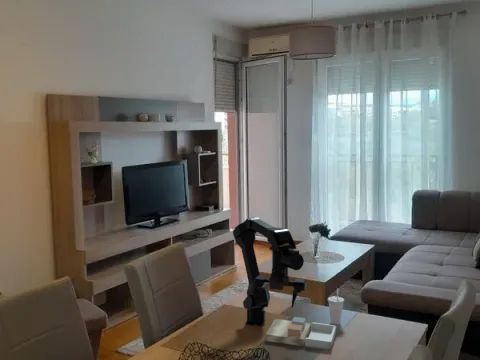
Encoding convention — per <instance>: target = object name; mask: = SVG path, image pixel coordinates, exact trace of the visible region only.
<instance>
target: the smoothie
mask: <svg viewBox="0 0 480 360" xmlns="http://www.w3.org/2000/svg"><path fill="white" fill-rule="evenodd" d="M327 302H328V311H329V321H330V324H331V325H340V324H341V318H342V312H343V307H344V304H345V299H344V298H343V297H341V296H339V288H338V287H337V288H336V296H333V295H332V296H329V297H327Z"/></svg>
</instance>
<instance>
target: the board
mask: <svg viewBox="0 0 480 360" xmlns="http://www.w3.org/2000/svg"><path fill="white" fill-rule="evenodd" d="M290 324H292V320H288V319H287V320H286V319H278V318H275V319H274V320H273V321H272V324H271V325H270V327H269V328H268V330H266V333H265V337H264V338H265V340H264V341H265V342H272V343H276V344H277V343H278V344H285V345H292V346H298V347H305V338H308V337H309V335H310V333H311V330H312V322H310V323H309V322H306V325H305V327H304V329H302V334H301V336H300V337H297V336H290V335H288V327H289V325H290Z"/></svg>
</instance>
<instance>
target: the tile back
mask: <svg viewBox="0 0 480 360" xmlns="http://www.w3.org/2000/svg"><path fill="white" fill-rule="evenodd" d="M291 321H292V324H296V325H302V329H304V327H305V325H306V323H307V319H306V318H305V317H301V316H300V317H298V316H294V317H293V319H292V320H291Z"/></svg>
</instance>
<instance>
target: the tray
mask: <svg viewBox="0 0 480 360" xmlns="http://www.w3.org/2000/svg"><path fill="white" fill-rule="evenodd" d="M336 335H337V324H328V323H319V322H311V331H310V333H309V335H308V338H305V345H304V348H305V347H306V348H313V349H319V350H327V351H332V347H333V345H334V342H335V339H336Z"/></svg>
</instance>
